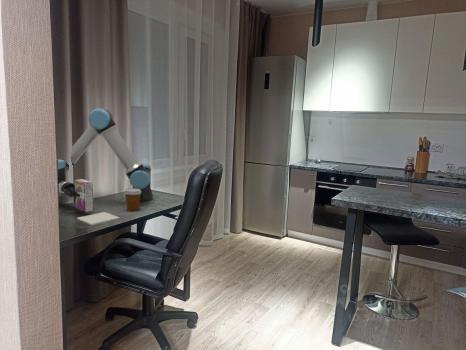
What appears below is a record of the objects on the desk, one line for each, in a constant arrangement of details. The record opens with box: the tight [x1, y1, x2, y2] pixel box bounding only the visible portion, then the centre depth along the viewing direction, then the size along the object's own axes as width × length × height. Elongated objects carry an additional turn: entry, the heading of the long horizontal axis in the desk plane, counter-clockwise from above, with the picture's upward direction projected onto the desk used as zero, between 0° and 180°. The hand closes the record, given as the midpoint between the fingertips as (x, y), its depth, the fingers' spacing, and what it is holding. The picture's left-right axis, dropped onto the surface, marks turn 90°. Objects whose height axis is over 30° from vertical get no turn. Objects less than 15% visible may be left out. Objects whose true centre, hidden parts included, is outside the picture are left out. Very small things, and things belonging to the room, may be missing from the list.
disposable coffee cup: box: [124, 187, 141, 212], centre depth 196 cm, size 10×10×12 cm
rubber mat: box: [76, 211, 120, 226], centre depth 176 cm, size 16×14×1 cm
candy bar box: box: [73, 178, 94, 213], centre depth 182 cm, size 11×5×16 cm, turn 51°
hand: (88, 195), depth 179 cm, fingers closed on candy bar box, 5 cm apart
